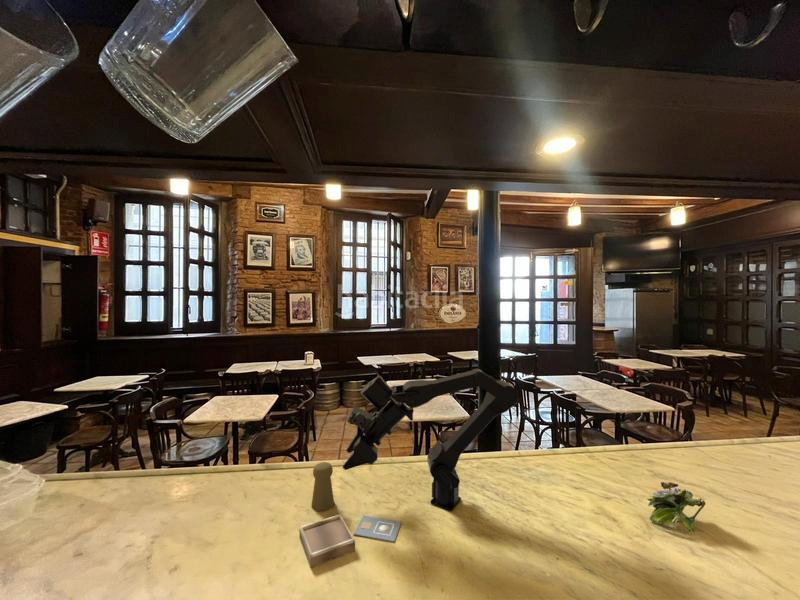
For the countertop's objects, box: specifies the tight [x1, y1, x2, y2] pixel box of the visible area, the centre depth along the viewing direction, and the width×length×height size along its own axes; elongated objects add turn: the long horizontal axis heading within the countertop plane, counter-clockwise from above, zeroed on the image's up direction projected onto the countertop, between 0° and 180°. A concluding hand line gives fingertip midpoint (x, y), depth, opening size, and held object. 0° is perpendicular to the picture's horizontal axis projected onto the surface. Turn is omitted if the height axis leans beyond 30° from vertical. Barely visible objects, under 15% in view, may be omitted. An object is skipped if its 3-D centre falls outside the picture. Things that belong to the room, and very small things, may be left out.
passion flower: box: [646, 481, 706, 533], centre depth 87 cm, size 11×11×12 cm
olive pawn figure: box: [311, 461, 335, 513], centre depth 94 cm, size 6×6×11 cm
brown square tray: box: [299, 513, 356, 568], centre depth 80 cm, size 10×10×3 cm
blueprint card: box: [352, 515, 402, 543], centre depth 85 cm, size 10×7×1 cm
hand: (345, 459), depth 94 cm, fingers open, 9 cm apart
